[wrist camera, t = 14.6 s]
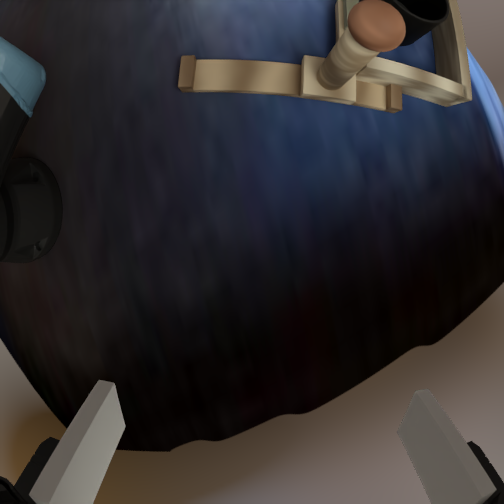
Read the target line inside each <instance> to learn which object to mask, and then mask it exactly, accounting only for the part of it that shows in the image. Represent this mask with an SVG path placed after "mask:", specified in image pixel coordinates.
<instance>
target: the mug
mask: <svg viewBox="0 0 504 504" xmlns="http://www.w3.org/2000/svg"><path fill="white" fill-rule="evenodd" d="M361 1H363V0H360V1H359V2H361ZM381 1H384V2H386V3H388V4H390V5H392V6H393V7H394V8H395V9H397V10H398V12H399V13H400V14H401V16H402V17H403V19H404V22H405V26H406V33H405V37H404V39H403V41H402V43H401V44H400V45H399V46H407V45H410V44H412V43H414V42H415V41H416V40H418V39H419V38H421V37H422V36H423V35H425V34H426V33H428V32H429V31H430V30H432V29H433V28H435V27H436V26H438V25H439V24H441V23H442V22H443V21H445V20H446V19H447V17H448V15H449V3H448V0H381Z"/></svg>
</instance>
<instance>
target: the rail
mask: <svg viewBox="0 0 504 504" xmlns="http://www.w3.org/2000/svg"><path fill="white" fill-rule="evenodd" d="M178 87H179V89H180V90H181V91H182V92H233V93H255V94H270V95H282V96H292V97H300V92H301V65H299V64H290V63H279V62H267V61H251V60H196V58H195V56H194V55H193V56H182V57H181V65H180V73H179V82H178ZM351 105H356V106H361V107H366V108H371V109H376V110H381V111H386V112H390V113H395V112H398V111H401V110H402V87H401V86H397V85H394V84H390V85H388V86H386V87H385V86H381V85H377V84H372V83H368V82H363V81H358V80H356V102H354V103H353V104H351Z"/></svg>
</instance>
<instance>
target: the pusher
mask: <svg viewBox="0 0 504 504" xmlns="http://www.w3.org/2000/svg"><path fill="white" fill-rule="evenodd" d="M335 19H336V44H335V46H334V47H333V49H332V50H331V51H330V53H329V54H328V56H327V57H326V58H321V57H315V56H307V55H304V57H303V59H302V65H301V92H300V98H307V99H315V100H323V101H330V102H336V103H342V104H348V105H351V104H353V103H354V102H356V74H357V73H358V72H359V71H360V70H361V69H362V68H363V67H364V66H365V65H366V64H367V63H369V62H370V61H371V60H372V59H373V58H374V57H375V56H377V55H378V54H379V53H380V52H386V51H390V50H393V49H395V48H396V47H398V46H399V45H400V44H401V43H402V41H403V39H404V37H405V33H406V26H405V22H404V19H403V17H402V16H401V14H400V13H399V12H398V10H397V9H395V8H394V7H393V6H392V5H390V4H388V3H386V2H384V1H381V0H363V1H361V2H359V0H337V3H336V4H335Z"/></svg>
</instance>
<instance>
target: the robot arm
mask: <svg viewBox="0 0 504 504" xmlns="http://www.w3.org/2000/svg"><path fill="white" fill-rule="evenodd" d="M45 83H46V72H45V69H44V68H43V66H42V65H41V64H39V63H38V62H37V61H35V60H34V59H33V58H31V57H30V56H28V55H27V54H25V53H24V52H23V51H21V50H20V49H18V48H17V47H15V46H14V45H12V44H11V43H9V42H8V41H6V40H5V39H3V38H2V37H0V262H11V263H28V262H32V261H34V260H36V259H38V258H40V257H42V256H44V255H45V254H46V253H48V252H49V251H50V249H51V248H52V247H53V245H54V244H55V242H56V240H57V237H58V234H59V231H60V227H61V221H62V201H61V195H60V191H59V187H58V184H57V182H56V180H55V177H54V176H53V174H52V172H51V171H50V170H49V168H48V167H47V166H46V165H45V164H43V163H42V162H41V161H39V160H37V159H34V158H15V159H11V157H12V155H13V152H14V150H15V148H16V145H17V143H18V141H19V139H20V136H21V134H22V132H23V130H24V128H25V126H26V124H27V122H28V120H29V118H30V117H32V115H33V109H34V106H35V104H36V102H37V100H38V98H39V96H40V94H41V92H42V90H43V88H44V86H45ZM124 429H125V423H124V419H123V416H122V412H121V408H120V404H119V400H118V396H117V392H116V387H115V383H111V382H107V381H102V380H99V381H98V382H97V384H96V385H95V387H94V388H93V390H92V391H91V393H90V394H89V396H88V397H87V399H86V400H85V402H84V404H83V405H82V407H81V408H80V410H79V411H78V413H77V414H76V416H75V418H74V419H73V421H72V422H71V424H70V426H69V427H68V429H67V431H66V432H65V434H64V435H63V437H62V439H61V440H57V439H55V438H52V437H49V438H48V439H46V440H45V441H44V442H42V443H41V444H40V445H39V447H38V449H37V450H36V452H35V455H33V456H32V458H31V460H30V462H29V463H28V464H27V466H26V467H25V469H24V471H23V472H22V474H21V476H20V477H19V479H18V480H17V482H16V484H15V485H14V486H13V485H12V484H11V483H10V482H9V481H8V480H7V479H6V478H3V477H1V476H0V504H93V502H94V500H95V497H96V495H97V492H98V490H99V487H100V485H101V482H102V480H103V478H104V475H105V473H106V470H107V468H108V466H109V463H110V461H111V458H112V456H113V454H114V451H115V449H116V447H117V445H118V442H119V440H120V438H121V435H122V433H123V431H124ZM397 433H398V435H399V437H400V439H401V441H402V443H403V445H404V447H405V449H406V451H407V453H408V455H409V457H410V459H411V461H412V463H413V465H414V468H415V470H416V471H417V474H418V476H419V478H420V480H421V482H422V484H423V486H424V489H425V491H426V493H427V495H428V497H429V499H430V502H431V504H504V483H503V481H502V480H501V478H500V476H499V475H498V474H497V472H496V470H495V469H494V467H493V466H492V464H491V463H489V460H488V458H487V457H485V454H484V453H483V451H482V450H481V448H480V447H479V446H478V445H476V444H475V443H473V442H472V441H471V442H468V443H466V441H465V440H464V438H463V437H462V436H461V434H460V433H459V431H458V430H457V428H456V427H455V425H454V424H453V422H452V421H451V420H450V418H449V417H448V415H447V414H446V412H445V411H444V410H443V408H442V407H441V405H440V404H439V403H438V401H437V400H436V399H435V397H434V396H433V395H432V393H431V392H430V390H429V389H424V390H417V391H415V393H414V395H413V398H412V400H411V402H410V405H409V407H408V409H407V411H406V414H405V416H404V418H403V420H402V422H401V424H400V427H399V428H398V431H397Z"/></svg>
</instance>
